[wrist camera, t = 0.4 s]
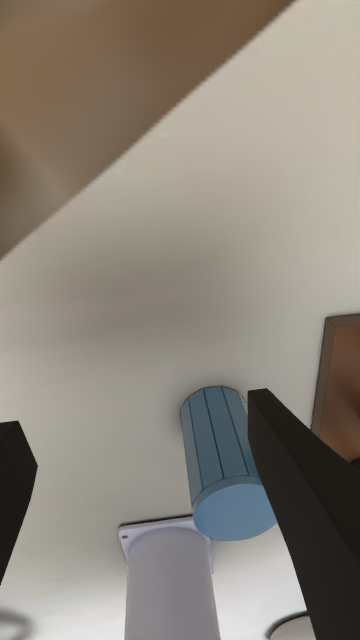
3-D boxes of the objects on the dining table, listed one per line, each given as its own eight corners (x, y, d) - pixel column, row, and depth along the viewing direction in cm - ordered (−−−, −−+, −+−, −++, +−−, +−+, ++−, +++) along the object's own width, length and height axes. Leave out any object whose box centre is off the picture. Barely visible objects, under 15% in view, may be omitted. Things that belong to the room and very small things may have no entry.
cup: (246, 432, 25) (281, 534, 18) (183, 440, 25) (196, 547, 18) (246, 382, 23) (287, 478, 16) (177, 390, 22) (189, 491, 16)
